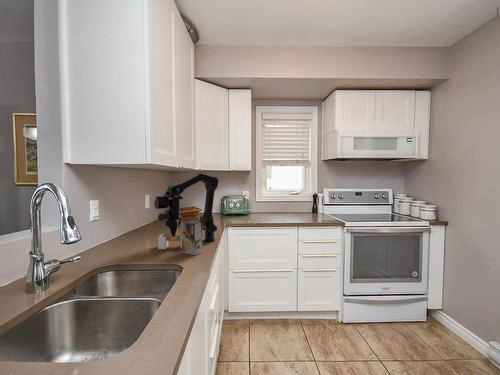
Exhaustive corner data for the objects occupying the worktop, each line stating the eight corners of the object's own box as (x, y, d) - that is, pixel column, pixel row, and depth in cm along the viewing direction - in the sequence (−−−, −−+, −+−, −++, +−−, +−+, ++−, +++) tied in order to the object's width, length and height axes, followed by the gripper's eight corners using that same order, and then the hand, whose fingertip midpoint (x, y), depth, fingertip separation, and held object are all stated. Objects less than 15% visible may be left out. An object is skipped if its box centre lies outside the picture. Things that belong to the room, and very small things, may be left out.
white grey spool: (158, 249, 140) (158, 236, 139) (161, 245, 147) (160, 233, 146) (188, 248, 142) (188, 235, 141) (189, 245, 148) (189, 233, 148)
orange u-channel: (172, 236, 147) (172, 224, 147) (178, 236, 148) (178, 224, 147) (170, 239, 140) (170, 227, 140) (176, 239, 141) (176, 226, 140)
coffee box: (203, 252, 135) (203, 222, 134) (195, 255, 129) (195, 224, 128) (189, 249, 139) (189, 220, 138) (181, 252, 133) (181, 222, 133)
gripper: (163, 205, 151) (163, 232, 152) (155, 210, 133) (155, 239, 134) (182, 205, 153) (182, 231, 153) (177, 209, 134) (177, 239, 135)
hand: (174, 235), depth 144 cm, fingers closed on orange u-channel, 7 cm apart
